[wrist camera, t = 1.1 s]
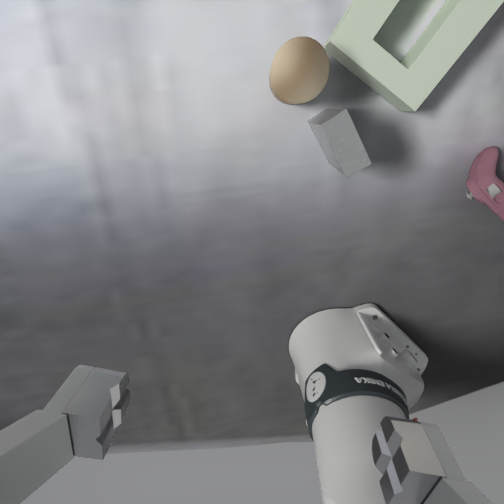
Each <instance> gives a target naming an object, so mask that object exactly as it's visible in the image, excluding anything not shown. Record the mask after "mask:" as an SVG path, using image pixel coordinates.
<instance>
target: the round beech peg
mask: <svg viewBox="0 0 504 504" xmlns="http://www.w3.org/2000/svg"><path fill="white" fill-rule="evenodd" d="M329 70H330V66H329V59H328V56H327V53H326V51H325V49H324V48H323V47H322V45H321V44H320V43H319V42H317V41H316V40H314V39H312V38H309V37H296V38H293V39H290V40H289V41H287V42H286V43H284V44H283V45H282V46H281V47H280V48H279V50H278V51H277V53H276V55H275V57H274V59H273V63H272V67H271V72H270V79H269V82H270V88H271V91H272V93H273V94H274V96H275V97H276V98H277V99H278V100H279V101H281V102H282V103H285V104H301V103H306V102H309V101H311V100H312V99H314V98H315V97H317V96H318V95H319V94H320V93H321V91H322V90H323V89H324V87H325V85H326V83H327V80H328V77H329Z"/></svg>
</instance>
